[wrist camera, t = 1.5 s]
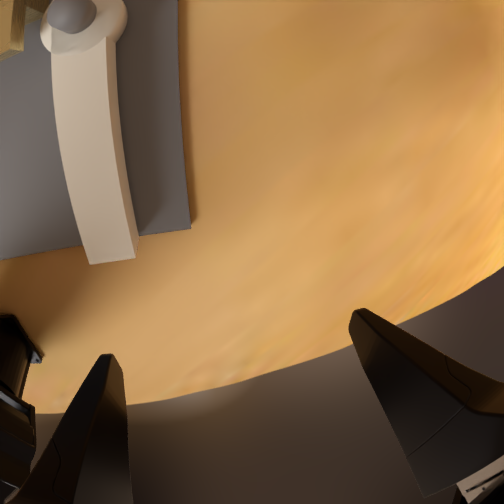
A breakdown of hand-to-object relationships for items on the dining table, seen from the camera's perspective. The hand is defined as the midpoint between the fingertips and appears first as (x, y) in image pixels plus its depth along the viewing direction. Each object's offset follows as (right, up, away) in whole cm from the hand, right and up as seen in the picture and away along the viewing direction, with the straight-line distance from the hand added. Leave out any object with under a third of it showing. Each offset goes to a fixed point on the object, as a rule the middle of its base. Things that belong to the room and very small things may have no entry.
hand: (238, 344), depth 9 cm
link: (-8, +10, +5) cm, 14 cm away
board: (-14, +12, +3) cm, 19 cm away
